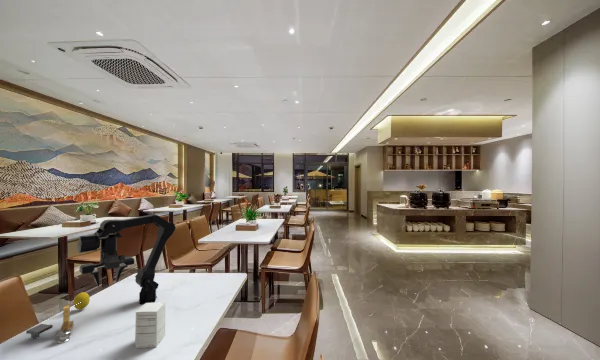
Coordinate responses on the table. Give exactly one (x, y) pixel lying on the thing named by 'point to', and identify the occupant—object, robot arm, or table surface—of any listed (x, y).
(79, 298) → the lemon
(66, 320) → the link
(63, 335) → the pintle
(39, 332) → the block
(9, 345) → the table surface
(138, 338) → the supplement box
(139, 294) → the robot arm
